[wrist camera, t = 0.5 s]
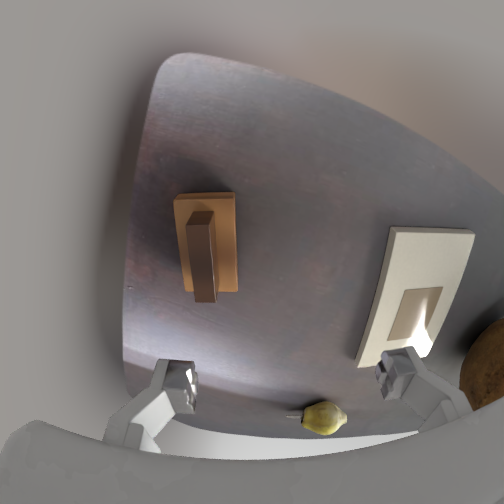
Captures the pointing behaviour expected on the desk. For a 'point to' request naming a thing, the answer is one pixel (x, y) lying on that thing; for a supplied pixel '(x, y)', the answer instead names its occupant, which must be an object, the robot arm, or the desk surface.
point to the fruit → (322, 418)
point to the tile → (414, 290)
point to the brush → (207, 243)
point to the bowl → (484, 368)
